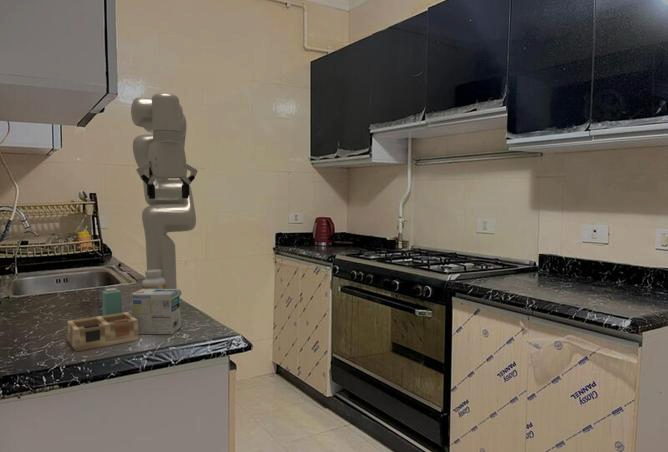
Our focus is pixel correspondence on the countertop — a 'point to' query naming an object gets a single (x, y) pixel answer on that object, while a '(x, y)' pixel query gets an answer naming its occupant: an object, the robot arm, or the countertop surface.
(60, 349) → the countertop surface
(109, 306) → the teal tall block
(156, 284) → the supplement bottle
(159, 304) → the light bulb box
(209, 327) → the countertop surface
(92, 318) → the socket block
